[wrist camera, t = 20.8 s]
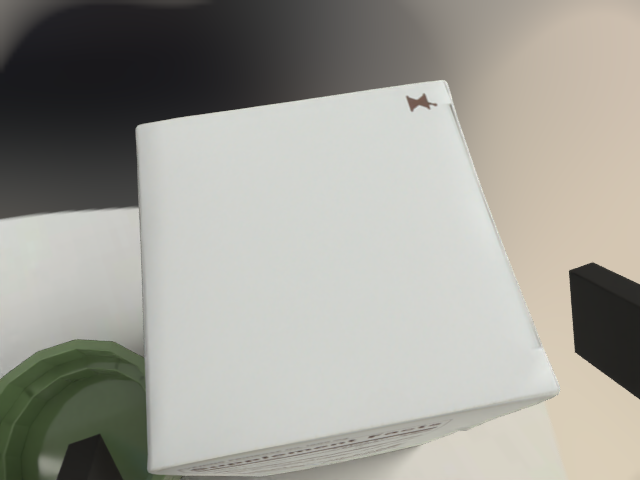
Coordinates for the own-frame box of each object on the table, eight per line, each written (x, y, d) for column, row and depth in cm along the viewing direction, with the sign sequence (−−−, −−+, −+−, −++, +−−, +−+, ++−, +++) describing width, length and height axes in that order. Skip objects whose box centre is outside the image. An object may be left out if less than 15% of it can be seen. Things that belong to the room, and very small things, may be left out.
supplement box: (229, 303, 29) (126, 109, 14) (385, 276, 30) (446, 62, 15) (250, 484, 25) (134, 485, 10) (429, 448, 26) (577, 398, 11)
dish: (11, 586, 24) (-38, 602, 20) (-1, 388, 27) (-44, 376, 24) (209, 512, 25) (192, 516, 22) (170, 333, 29) (151, 315, 25)
